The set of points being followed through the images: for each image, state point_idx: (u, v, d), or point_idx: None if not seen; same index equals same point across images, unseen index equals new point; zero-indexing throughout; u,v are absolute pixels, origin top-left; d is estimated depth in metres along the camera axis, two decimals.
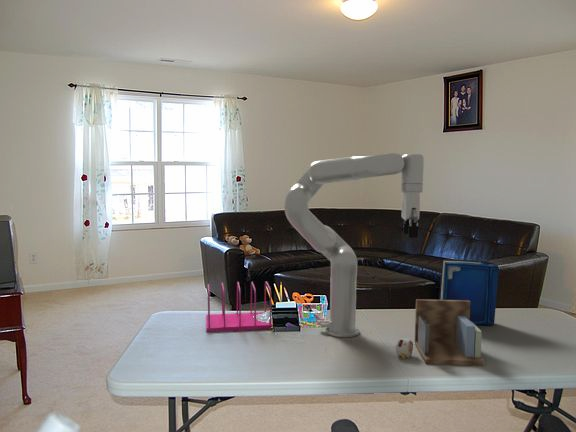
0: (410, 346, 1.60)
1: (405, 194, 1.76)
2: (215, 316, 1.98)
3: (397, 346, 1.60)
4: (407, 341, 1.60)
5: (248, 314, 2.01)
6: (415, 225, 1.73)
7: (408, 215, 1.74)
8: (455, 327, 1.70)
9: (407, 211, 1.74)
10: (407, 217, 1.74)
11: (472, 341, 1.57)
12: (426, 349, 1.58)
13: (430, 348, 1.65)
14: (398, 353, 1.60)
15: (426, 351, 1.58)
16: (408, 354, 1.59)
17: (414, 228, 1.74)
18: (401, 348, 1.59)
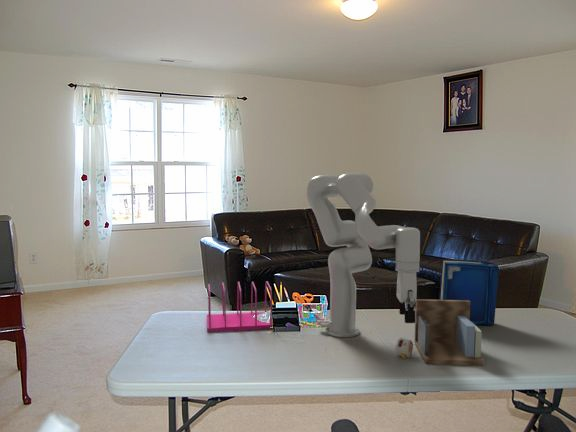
0: (410, 346, 1.60)
1: (400, 273, 1.57)
2: (216, 316, 1.98)
3: (397, 346, 1.60)
4: (407, 341, 1.60)
5: (248, 314, 2.01)
6: (412, 310, 1.53)
7: (404, 298, 1.54)
8: (455, 327, 1.70)
9: (403, 293, 1.54)
10: (403, 300, 1.55)
11: (472, 341, 1.57)
12: (426, 349, 1.58)
13: (430, 348, 1.65)
14: (398, 353, 1.60)
15: (426, 351, 1.58)
16: (408, 354, 1.59)
17: (411, 313, 1.54)
18: (401, 348, 1.59)
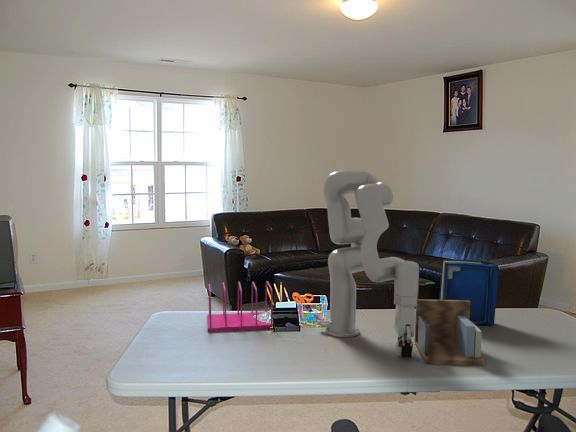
0: None
1: (398, 307, 1.58)
2: (216, 316, 1.98)
3: (397, 346, 1.60)
4: None
5: (248, 313, 2.01)
6: (408, 346, 1.56)
7: (402, 332, 1.56)
8: (455, 327, 1.70)
9: (400, 328, 1.56)
10: (400, 334, 1.56)
11: (472, 341, 1.57)
12: (426, 349, 1.58)
13: (430, 348, 1.65)
14: (398, 353, 1.60)
15: (426, 351, 1.58)
16: None
17: (407, 348, 1.57)
18: None
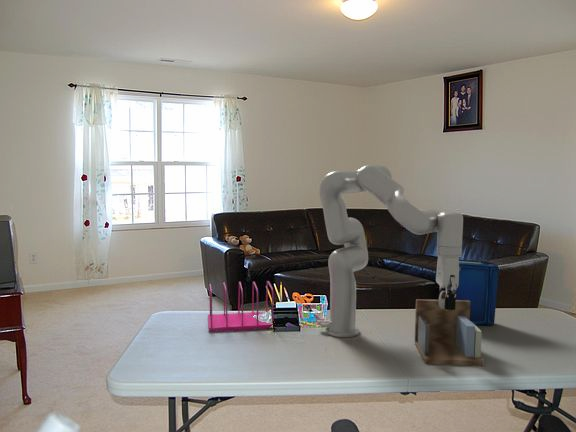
0: None
1: (442, 258, 1.55)
2: (217, 316, 1.98)
3: (440, 298, 1.57)
4: None
5: (249, 313, 2.02)
6: (453, 297, 1.53)
7: (446, 283, 1.53)
8: (455, 327, 1.70)
9: (444, 278, 1.53)
10: (444, 285, 1.53)
11: (472, 341, 1.57)
12: (426, 349, 1.58)
13: (430, 348, 1.65)
14: (441, 305, 1.57)
15: (426, 351, 1.58)
16: None
17: (451, 300, 1.53)
18: (444, 300, 1.56)
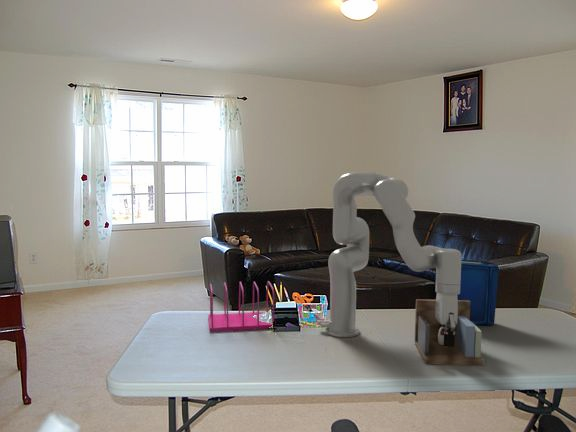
0: None
1: (441, 295, 1.56)
2: (217, 316, 1.98)
3: (439, 335, 1.58)
4: None
5: (250, 313, 2.02)
6: (451, 334, 1.54)
7: (445, 320, 1.54)
8: (455, 327, 1.70)
9: (443, 316, 1.54)
10: (443, 323, 1.54)
11: (472, 341, 1.57)
12: (426, 349, 1.58)
13: (430, 348, 1.65)
14: (440, 342, 1.58)
15: (426, 351, 1.58)
16: None
17: (450, 337, 1.54)
18: (443, 336, 1.57)
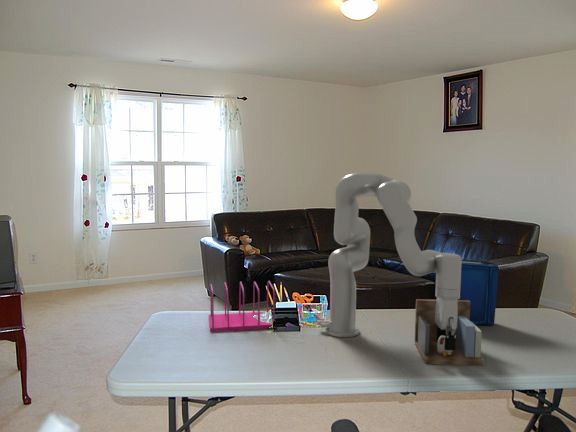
0: None
1: (440, 300, 1.56)
2: (218, 316, 1.98)
3: (438, 343, 1.58)
4: None
5: (250, 313, 2.02)
6: (452, 337, 1.53)
7: (444, 325, 1.54)
8: None
9: (443, 321, 1.54)
10: (443, 327, 1.54)
11: (472, 341, 1.57)
12: (426, 349, 1.58)
13: (430, 348, 1.65)
14: (439, 351, 1.58)
15: (426, 351, 1.58)
16: (450, 352, 1.57)
17: (451, 340, 1.53)
18: (442, 345, 1.57)
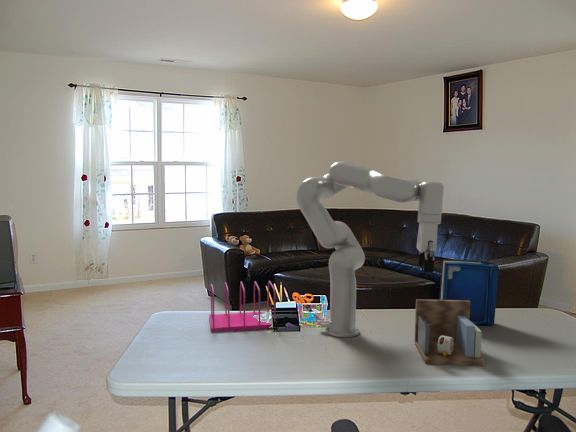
0: (451, 344, 1.58)
1: (422, 225, 1.64)
2: (218, 316, 1.98)
3: (438, 343, 1.58)
4: (449, 339, 1.58)
5: (251, 313, 2.02)
6: (431, 259, 1.61)
7: (424, 248, 1.62)
8: (455, 327, 1.70)
9: (423, 243, 1.62)
10: (423, 250, 1.62)
11: (472, 341, 1.57)
12: (426, 349, 1.58)
13: (430, 348, 1.65)
14: (439, 351, 1.58)
15: (426, 351, 1.58)
16: (450, 352, 1.57)
17: (430, 262, 1.61)
18: (442, 345, 1.57)
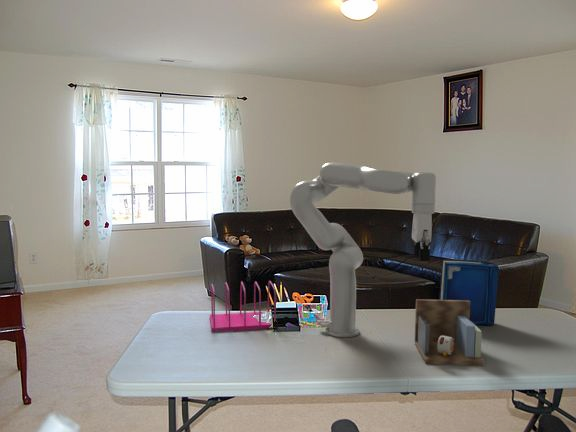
0: (451, 344, 1.58)
1: (416, 215, 1.67)
2: (219, 316, 1.98)
3: (438, 343, 1.58)
4: (448, 339, 1.58)
5: (251, 313, 2.02)
6: (427, 248, 1.64)
7: (419, 237, 1.65)
8: (455, 327, 1.70)
9: (418, 233, 1.65)
10: (418, 239, 1.65)
11: (472, 341, 1.57)
12: (426, 349, 1.58)
13: (430, 348, 1.65)
14: (439, 351, 1.58)
15: (426, 351, 1.58)
16: (450, 352, 1.57)
17: (426, 251, 1.64)
18: (442, 345, 1.57)
